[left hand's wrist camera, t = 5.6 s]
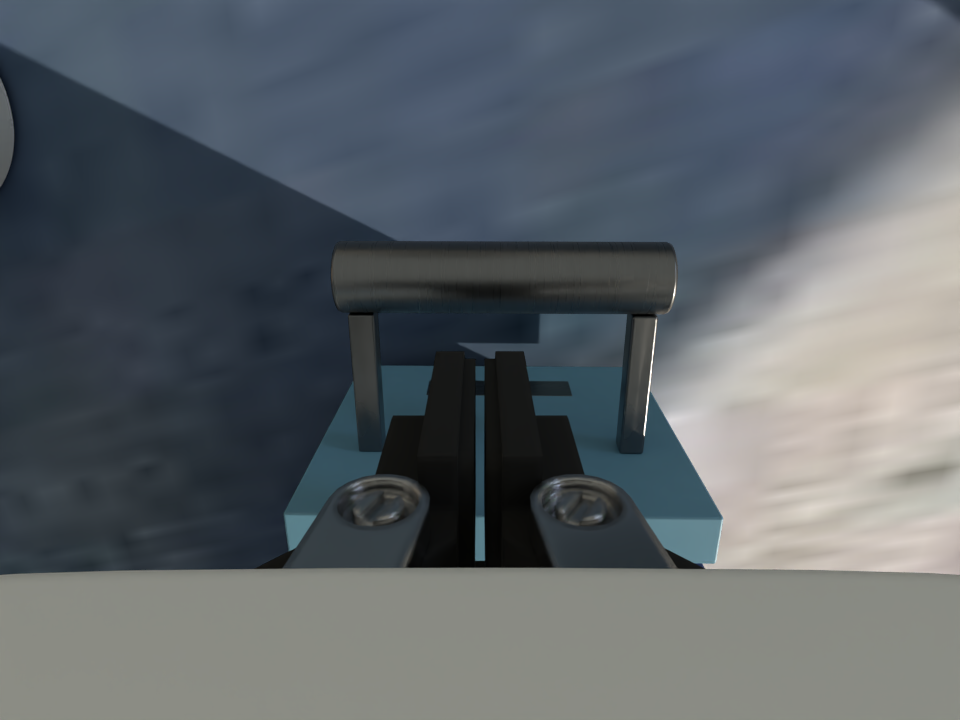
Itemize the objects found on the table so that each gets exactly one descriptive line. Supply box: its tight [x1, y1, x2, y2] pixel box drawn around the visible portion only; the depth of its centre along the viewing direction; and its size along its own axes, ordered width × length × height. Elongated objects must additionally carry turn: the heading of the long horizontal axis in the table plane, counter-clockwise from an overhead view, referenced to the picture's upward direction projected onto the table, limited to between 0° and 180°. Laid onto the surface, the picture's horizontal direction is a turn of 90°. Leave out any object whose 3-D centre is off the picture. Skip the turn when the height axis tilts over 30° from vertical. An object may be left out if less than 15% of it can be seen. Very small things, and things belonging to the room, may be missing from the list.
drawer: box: [284, 241, 723, 568], centre depth 19 cm, size 19×9×8 cm, turn 0°
